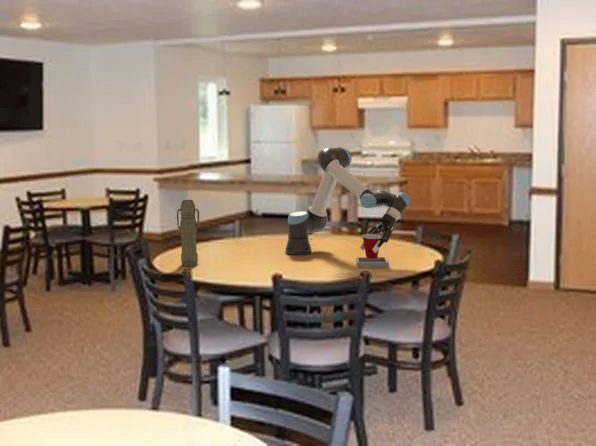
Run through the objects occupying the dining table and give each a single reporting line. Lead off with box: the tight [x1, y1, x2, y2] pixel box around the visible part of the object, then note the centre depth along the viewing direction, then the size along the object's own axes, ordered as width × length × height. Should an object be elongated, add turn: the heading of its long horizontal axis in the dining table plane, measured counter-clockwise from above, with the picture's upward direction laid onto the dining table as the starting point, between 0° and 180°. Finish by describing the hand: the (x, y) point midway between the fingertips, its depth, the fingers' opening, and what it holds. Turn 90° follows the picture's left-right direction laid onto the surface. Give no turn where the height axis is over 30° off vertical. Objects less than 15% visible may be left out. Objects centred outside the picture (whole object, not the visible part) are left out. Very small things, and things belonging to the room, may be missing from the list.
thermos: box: [176, 199, 200, 268], centre depth 426 cm, size 9×12×35 cm
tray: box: [355, 256, 390, 269], centre depth 422 cm, size 16×16×3 cm
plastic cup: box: [361, 233, 382, 259], centre depth 421 cm, size 11×11×12 cm
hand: (367, 250), depth 419 cm, fingers closed on plastic cup, 10 cm apart
